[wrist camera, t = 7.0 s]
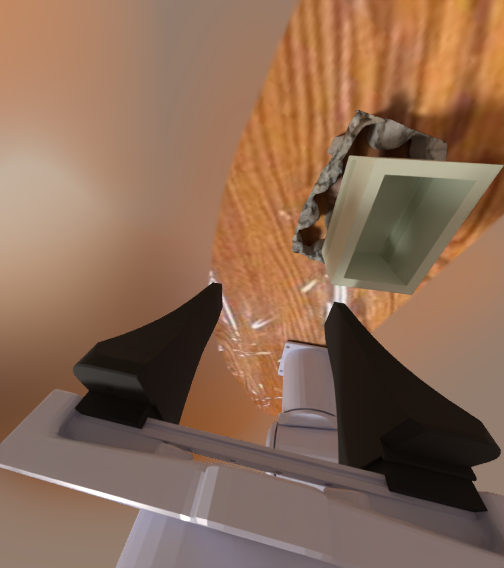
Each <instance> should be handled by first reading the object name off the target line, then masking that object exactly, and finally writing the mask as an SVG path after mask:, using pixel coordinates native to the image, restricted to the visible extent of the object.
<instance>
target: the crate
mask: <svg viewBox="0 0 504 568" xmlns="http://www.w3.org/2000/svg"><path fill="white" fill-rule="evenodd" d="M503 166H504V165H495V164H481V163H467V162H453V161H439V160H423V159H405V158H387V157H368V156H350V155H349V158H348V162H347V165H346V169H345V172H344V175H343V179H342V182H341V186H340V189H339V193H338V196H337V200H336V203H335V207H334V210H333V214H332V217H331V221H330V224H329V227H328V231H327V234H326V238H325V241H324V245H323V248H322V255H323V258H324V262H325V265H326V269H327V272H328V276H329V279H330V282H331V284H333V285H340V286H348V287H356V288H363V289H371V290H378V291H386V292H394V293H401V294H409V295H412V294H413V293H414V291H415V290H416V289H417V287H418V286H419V284H420V283H421V281H422V280H423V279H424V277H425V276H426V274H427V273H428V272H429V270H430V269H431V267H432V266H433V265H434V263H435V262H436V260H437V259H438V257H439V256H440V255H441V253H442V252H443V250H444V249H445V248H446V246H447V245H448V243H449V242H450V241H451V239H452V238H453V236H454V235H455V233H456V232H457V231H458V229H459V228H460V226H461V225H462V224H463V222H464V221H465V219H466V218H467V217H468V215H469V214H470V212H471V211H472V209H473V208H474V207H475V205H476V204H477V202H478V201H479V200H480V198H481V197H482V195H483V194H484V193H485V191H486V190H487V188H488V187H489V186H490V184H491V183H492V181H493V180H494V178H495V177H496V176H497V174H498V173H499V171H500V170H501V169H502V167H503Z"/></svg>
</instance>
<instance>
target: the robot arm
mask: <svg viewBox="0 0 504 568" xmlns="http://www.w3.org/2000/svg"><path fill="white" fill-rule="evenodd" d="M222 307H223V305H222V284H219V283H212V284H210V285H209V286H208V287H206V288H205V289H204V290H203V291H201V292H200V293H199V294H198V295H196V296H195V297H193V298H192V299H191V300H189V301H188V302H187V303H185V304H184V305H182V306H181V307H179V308H178V309H176V310H174V311H173V312H171V313H169V314H167V315H166V316H164V317H162V318H160V319H158V320H156V321H154V322H152V323H150V324H147V325H145V326H143V327H141V328H138V329H136V330H133V331H131V332H128V333H125V334H123V335H120V336H117V337H114V338H111V339H108V340H105V341H102V342H98V343H97V344H96V345H95V346H94V347H93V348H92V349H91V350H90V351H89V352H88V353H87V354H86V355H85V356H84V357H83V358H82V359H81V360H80V361H79V362H78V363H77V364H76V365H75V366H74V368H73V372H74V375H75V376H76V377H77V378H78V379H79V381H81V383H82V384H83V385H84V386H85V387H86V388H87V389H88V390H89V392H88V393H87V394H86V395H85V396H84V397H83V396H81V395H78V394H75V393H71V392H67V391H63V390H58V389H56V390H53V391H52V392H51V393H50V394H49V395H48V396H47V397H46V398H45V399H44V400H43V402H41V403H40V404H39V405H38V406H37V407H36V408H35V409H34V410H33V412H31V413H30V414H29V415H28V416H27V417H26V418H25V420H23V421H22V423H20V424H19V425H18V426H17V428H15V429H14V431H12V432H11V433H10V434H9V435H8V437H7V438H6V439H5V440H4V441H3V442H2V443H1V444H0V467H1V468H5V469H8V470H11V471H14V472H18V473H21V474H24V475H27V476H31V477H34V478H37V479H41V480H45V481H48V482H51V483H54V484H58V485H61V486H64V487H68V488H71V489H75V490H78V491H81V492H85V493H88V494H91V495H95V496H98V497H101V498H105V499H108V500H111V501H115V502H118V503H121V504H125V505H128V506H132V507H135V508H138V509H140V511H139V513H138V516H137V518H136V520H135V523H134V525H133V528H132V530H131V532H130V535H129V537H128V539H127V542H126V544H125V547H124V549H123V551H122V554H121V556H120V558H119V561H118V563H117V566H116V568H504V496H502V495H498V494H494V493H489V492H478V491H477V490H476V488H475V486H474V484H473V482H472V481H476V476H475V474H474V472H473V470H472V469H471V467H472V466H476V465H479V464H483V463H486V462H490V461H492V460H495V459H497V458H498V457H499V456H500V454H501V449H500V448H499V447H498V445H497V444H496V442H495V441H494V439H493V438H492V436H491V435H490V434H489V432H488V431H487V429H486V428H485V426H484V425H483V423H482V422H481V421H480V420H478V419H477V418H475V417H474V416H472V415H470V414H469V413H468V412H466V411H464V410H463V409H462V408H460V407H459V406H457V405H456V404H454V403H452V402H451V401H449V400H448V399H447V398H445V397H444V396H442V395H441V394H440V393H438V392H437V391H435V390H434V389H433V388H431V387H430V386H428V385H427V384H426V383H424V382H423V381H422V380H420V379H419V378H418V377H417V376H416V375H414V374H413V373H412V372H411V371H409V370H408V369H407V368H406V367H405V366H403V365H402V364H401V363H400V362H399V361H398V360H397V359H395V358H394V357H393V356H392V355H391V354H390V353H389V352H388V351H387V350H386V349H384V347H383V346H382V345H381V344H380V343H379V342H378V341H377V340H376V339H375V338H374V337H373V336H372V335H371V334H370V333H369V332H368V330H367V329H366V328H365V327H364V326H363V325H362V324H361V322H360V321H359V320H358V319H357V318H356V317H355V315H354V314H353V313H352V312H351V310H350V309H349V308H348V307H347V306H346V305H345V304H344V303H338V302H334V304H333V306H332V308H331V311H330V313H329V315H328V317H327V320H326V322H325V324H324V325H325V340H326V345H327V348H324V347H319V346H313V345H307V344H302V343H296V342H290V341H287V342H286V343H285V347H284V350H283V354H282V358H281V362H280V366H279V370H278V374H279V375H281V376H283V399H282V413H279V419H278V422H277V421H275V422H274V423H273V424H272V426H271V427H270V428H269V431H268V435H267V441H266V446H263V445H259V444H255V443H251V442H246V441H242V440H238V439H234V438H230V437H226V436H222V435H218V434H213V433H209V432H205V431H201V430H197V429H193V428H188V427H185V426H180V425H179V422H180V419H181V415H182V412H183V409H184V405H185V402H186V399H187V396H188V393H189V390H190V386H191V384H192V380H193V378H194V375H195V372H196V369H197V366H198V364H199V361H200V358H201V355H202V353H203V351H204V348H205V346H206V344H207V342H208V340H209V338H210V336H211V334H212V332H213V330H214V328H215V326H216V324H217V321H218V319H219V316H220V313H221V310H222ZM186 451H187V452H186ZM189 452H191V453H195V454H199V455H203V456H207V457H210V458H215V459H218V460H222V461H226V462H230V463H234V464H238V465H242V466H246V467H250V468H254V469H257V470H261V471H265V472H266V474H264V473H261V472H256V471H253V470H249V469H245V468H241V467H237V466H233V465H228V464H222V463H212V464H211V463H205V462H200V461H194V460H193V455H192V454H191V453H189Z"/></svg>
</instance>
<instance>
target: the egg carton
mask: <svg viewBox="0 0 504 568" xmlns="http://www.w3.org/2000/svg"><path fill="white" fill-rule="evenodd" d="M355 112H356V114H355V116H354V118H353V119H352V121H351V122H350V123H349V126H348V129H347V132H346V134H345V135H343V136H336V137H335V138H334V139H333V141H332V143H331V145H330V147H329V149H328V153H329V154H331V155H332V159H331V161H330V162H329V164H328V166H327V167H325V168H324V169H323V171H322V173H321V175H320V177H319V179H318V181H317V184H314V187H313V190H312V192H311V194H310V196H309V197H308V199H307V201H306V203H305V205H304V207H303V210H302V212H301V215H300V219H299V222H298V225H297V228H296V232H295V235H294V237H293V246H292V251H293V252H294V253H300V254H303V255H305V256H307V257H308V258H310V259H312V260H317V261H319V262H322V263H323V264H325V262H324V258H323V255H322V248H323V245H324V241H325V240H318V241H316V242H314V243H313V244H312V245H311V246H306V245H303V242H302V237H301V234H300V233H299V232H298V231H299V230H300V229H301V230H302V229H303V228H307V227H310V226H311V225H312V224H313V223H315V222H316V221H317V220H319V218H320V214H319V208H318V206H317V203H316V202H315V200H314V199H313V197H314V195H316V194H319V193H322V192H325V191H326V190H328V187H329V186H331V185H333V184H334V183H335V182H336V181H337V177H338V175H340V174H342V172H343V162H342V160H343V158H344V157H345V155H346V154H347V152H348V150H349V149H350V147H351V145H352V143H353V141H354V139H355V138H356V136H357V135H358V134H359V132H360V131H361V130H362V129H363V128H364V127H365V126H367V125H368V126H369V130H368V134H367V140H368V143H369V145H370V146H371V147H372V148H374V149H383V150H390V149H395V148H397V147H399V146H401V145H402V144H404V143H405V142H406V141H407V140H409V139H411V140H412V142H411V145H410V148H409V155H410V158H411V159H423V160H439V161H446V155H447V143H446V142H444V141H443V140H440V139H437V138H433V137H431V136H429V135H427V134H425V133H422V132H419V131H417V130H413V129H410V128H408V127H405V126H404V125H402V124H400V123H398V122H395V121H393V120H390V119H388V118H385V120H384V119H382V118H379V117H376V116H374V115H371V114H369V113H366V112H363V111H360V110H356V111H355ZM333 210H334V208H333V209H331V210H330V211H329V212H328V213H327V215H326V217H325V226H326V228H327V231H328V227H329V224H330V221H331V217H332V214H333Z"/></svg>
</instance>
